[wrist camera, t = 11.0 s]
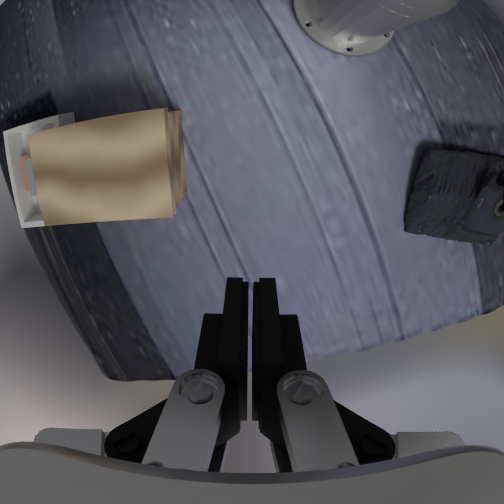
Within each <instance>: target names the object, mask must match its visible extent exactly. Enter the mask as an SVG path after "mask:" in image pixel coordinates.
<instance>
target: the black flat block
mask: <svg viewBox="0 0 504 504" xmlns="http://www.w3.org/2000/svg"><path fill="white" fill-rule="evenodd" d="M497 166H499V167H500V171H501V173H500V178H499V181H498V183H497V182H496V177H497V173H496V169H495V168H496V167H497ZM404 223H405V226H406V229H405V232H409V233H413V234H426V235H428V236H432V237H439V238H443V239H447V240H457V241H463V242H471V243H479V244H483V245H484V244H486V245H491V244H492V243H493V241H495V239H496V238H497V237H498V234H499V233H501V231H503V230H504V158H501V157H497V156H492V155H486V154H485V155H483V154H480V153H474V152H470V151H467V152H465V151H464V152H461V151H454V150H450V151H447V150H445V149H442V148H436V149H429V150H426V151H425V152H424V154H423V157H422V159H421V163H420V167H419V170H418V173H417V176H416V178H415V182H414V187H413V192H412V194H411V195H410V198H409V200H408V206H407V212H406V214H405V222H404Z"/></svg>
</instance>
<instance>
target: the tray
mask: <svg viewBox="0 0 504 504" xmlns="http://www.w3.org/2000/svg"><path fill="white" fill-rule="evenodd" d="M73 123H75V118H74V112H71V113H65V114H59V115H55V116H51V117H48V118H44V119H41V120H38V121H34V122H31V123H28V124H25V125H21V126H18V127H15V128H12V129H9V130H7V131H4V132H3V134H4V142H5V150H6V156H7V163H8V169H9V174H10V180H11V185H12V190H13V194H14V199H15V203H16V208H17V212H18V216H19V220H20V224H21V227H22V228H27V227H38V226H45V225H44V221H43V216H42V212H41V208H40V203H39V199H38V195H36V196H31V194H30V191H27V192H26V188H25V183H24V177H23V171H22V164H21V157H22V156H24V155H27V154H30V148H29V140H28V135H30V134H33V133H37V132H41V131H44V130H48V129H52V128H56V127H60V126H64V125H68V124H73Z"/></svg>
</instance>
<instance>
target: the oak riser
mask: <svg viewBox="0 0 504 504" xmlns="http://www.w3.org/2000/svg"><path fill="white" fill-rule="evenodd" d="M28 140H29V148H30V155H31V161H32V167H33V173H34V179H35V184H36V189H37V194H38V199H39V203H40V208H41V212H42V216H43V221H44V225H45V226H49V225H61V224H74V223H87V222H101V221H117V220H133V219H151V218H171V217H174V216H175V214H176V207H177V205H178V204H179V202H180V201H181V199H182V198H183V196H184V194H185V193H186V191H187V184H186V172H185V160H184V146H183V131H182V114H181V110H178V111H169V112H168V108H160V109H152V110H144V111H137V112H131V113H124V114H118V115H112V116H107V117H102V118H96V119H91V120H86V121H82V122H77V123H73V124H68V125H64V126H60V127H56V128H52V129H48V130H44V131H41V132H37V133H33V134H30V135H28Z"/></svg>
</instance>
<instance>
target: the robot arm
mask: <svg viewBox="0 0 504 504" xmlns="http://www.w3.org/2000/svg"><path fill="white" fill-rule="evenodd" d="M459 1H460V0H293V6H294V12H295V16H296V19H297V21H298V23H299V25H300V26H301V28H302V29H303V30H304V32H305V33H306V34H307V35H308V36H309V37H310V38H311V39H312V40H313V41H314V42H316V43H317V44H318V45H320V46H321V47H323V48H325V49H327V50H329V51H331V52H334V53H337V54H340V55H346V56H363V55H368V54H371V53H374V52H376V51H378V50H380V49H382V48H383V47H384V46H385V45H386V44H387V43H388V42H389V41H390V39H391V38H392V36H393V34H394V31H395V30H397V29H400V28H403V27H405V26H408V25H411V24H414V23H417V22H420V21H422V20H425V19H429V18H432V17H435V16H438V15H441V14H443V13H446V12H448V11H449V10H451V9H452V8H454V7H455V6H456V5H457V4H458V3H459ZM482 1H483V2H484V3H485V4H487V6H488V7H489V8H490V9H491V10H492V11H493V12H494V13H495V15H496V16H497V17H498V18H499V19H500V20H501V22H502V23H503V24H504V0H482ZM305 24H309V27H307V26H306V25H305ZM384 34H385V36H384ZM347 48H349V50H350V51H349V52H348V51H347ZM248 289H249V282H243V278H233V277H227V283H226V291H225V300H224V309H223V314H210V313H205V314H204V317H203V322H202V328H201V333H200V338H199V344H198V350H197V355H196V361H195V367H194V370H189V371H187V372H185V373H183V374H182V375H180V376H179V377H178V378H177V379H176V381H175V383H174V385H173V387H172V390H171V392H170V394H169V397H168V398H167V399H165V400H163V401H162V402H160V403H158V404H157V405H155V406H153V407H152V408H150V409H148V410H146V411H145V412H143V413H141V414H139V415H138V416H136V417H134V418H132V419H131V420H129V421H127V422H125V423H123V424H121V425H120V426H118V427H116V428H115V429H113V430H112V431H111V432H103V430H102V429H65V428H46V429H43V430H41V431H40V432H39V433H38V434H37V435H36V436H35V439H34V441H33V442H14V443H8V444H4V445H1V446H0V504H504V452H502V451H501V450H499V449H496V448H493V447H488V446H480V445H464V442H463V439H462V438H461V437H460V436H459V435H457V434H456V433H454V432H448V431H447V432H397V434H396V435H391V434H389V433H387V432H386V431H385V430H383V429H381V428H380V427H378V426H376V425H375V424H373V423H371V422H369V421H368V420H366V419H364V418H362V417H361V416H359V415H357V414H355V413H354V412H352V411H351V410H349V409H347V408H346V407H344V406H342V405H341V404H339V403H338V402H336V401H334V400H333V397H332V395H331V393H330V390H329V388H328V385H327V383H326V382H325V381H324V379H323V378H322V377H320V376H319V375H317V374H316V373H314V372H311V371H307V368H306V362H305V356H304V350H303V344H302V338H301V333H300V327H299V321H298V317H297V315H279V307H278V299H277V290H276V281H275V278H260V280H259V282H254V283H253V324H252V420H253V421H257V420H258V421H259V429H260V432H261V433H262V434H263V435H264V436H266V437H267V438H268V439H270V446H271V451H272V455H273V460H274V464H275V468H276V473H222V471H223V467H224V463H225V459H226V454H227V450H228V446H229V439H230V438H232V437H233V436H235V435H236V434H237V433H238V432H239V431H240V420H247V367H248Z"/></svg>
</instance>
